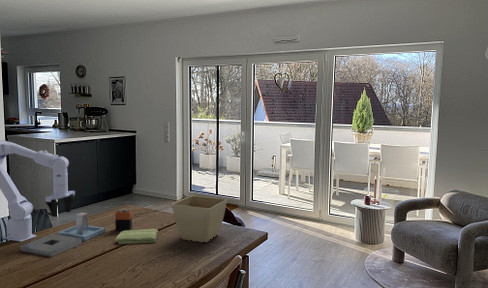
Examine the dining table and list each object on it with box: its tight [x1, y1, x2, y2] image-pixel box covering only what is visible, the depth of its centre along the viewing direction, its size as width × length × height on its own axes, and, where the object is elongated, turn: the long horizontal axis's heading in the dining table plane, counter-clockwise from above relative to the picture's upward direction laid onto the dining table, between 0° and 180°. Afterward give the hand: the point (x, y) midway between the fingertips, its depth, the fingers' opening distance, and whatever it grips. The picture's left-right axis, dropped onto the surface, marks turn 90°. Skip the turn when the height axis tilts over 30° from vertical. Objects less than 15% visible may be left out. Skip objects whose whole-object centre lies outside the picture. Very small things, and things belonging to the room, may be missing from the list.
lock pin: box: [75, 212, 89, 235], centre depth 169 cm, size 4×4×9 cm
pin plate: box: [19, 233, 83, 258], centre depth 153 cm, size 16×16×2 cm
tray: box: [57, 225, 106, 242], centre depth 169 cm, size 15×13×2 cm
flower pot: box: [171, 195, 228, 243], centre depth 169 cm, size 19×19×17 cm
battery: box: [114, 208, 133, 232], centre depth 177 cm, size 4×7×10 cm, turn 91°
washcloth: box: [114, 228, 159, 245], centre depth 166 cm, size 13×18×3 cm
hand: (61, 214), depth 165 cm, fingers open, 7 cm apart
